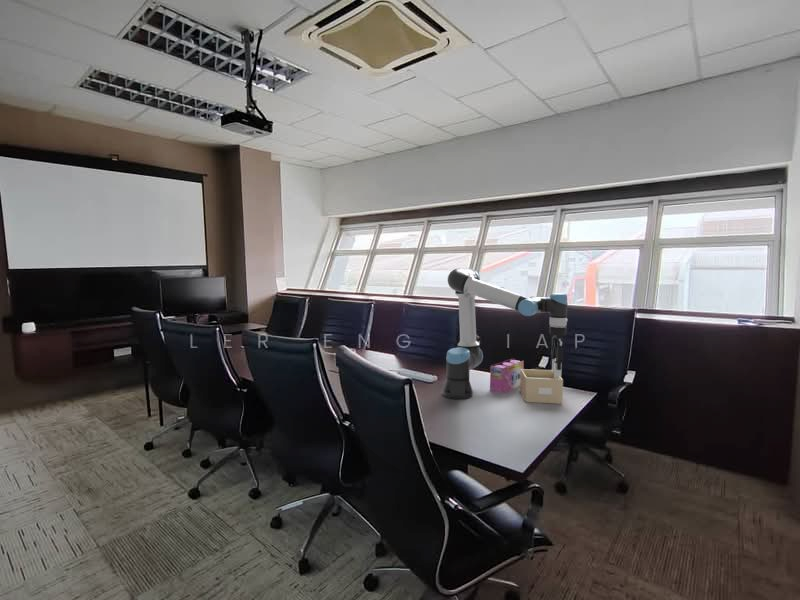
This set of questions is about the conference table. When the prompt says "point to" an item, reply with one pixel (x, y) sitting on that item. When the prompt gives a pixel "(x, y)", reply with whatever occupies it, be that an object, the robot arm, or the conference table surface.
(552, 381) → the front flap
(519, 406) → the conference table surface
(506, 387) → the gum box
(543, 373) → the carton
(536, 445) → the conference table surface
